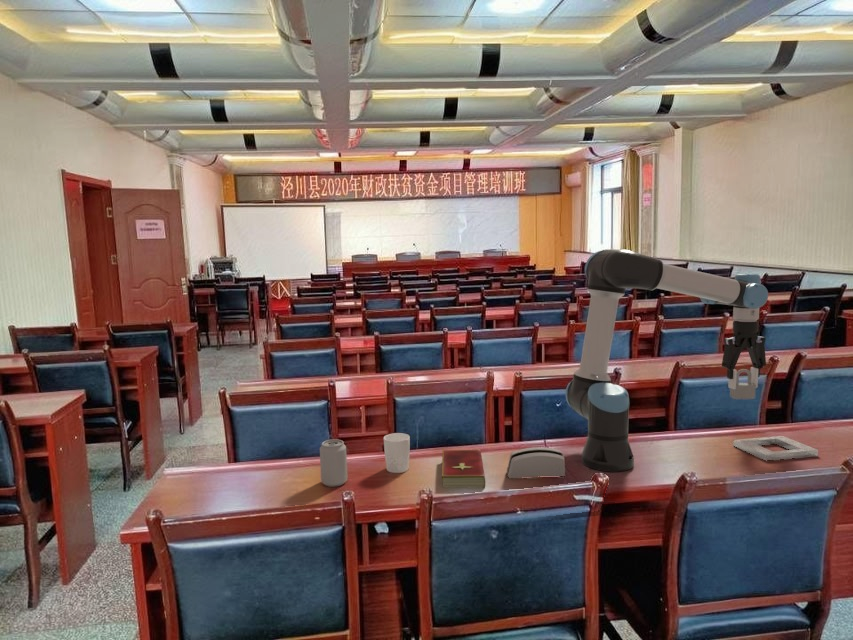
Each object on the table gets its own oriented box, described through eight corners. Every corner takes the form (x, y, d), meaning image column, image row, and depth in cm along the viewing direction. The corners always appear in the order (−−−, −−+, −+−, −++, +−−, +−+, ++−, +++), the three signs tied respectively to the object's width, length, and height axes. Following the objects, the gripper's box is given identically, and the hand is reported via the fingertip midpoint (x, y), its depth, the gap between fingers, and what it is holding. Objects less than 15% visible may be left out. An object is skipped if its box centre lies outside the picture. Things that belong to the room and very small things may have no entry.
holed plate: (765, 461, 172) (766, 454, 172) (733, 446, 186) (733, 440, 186) (817, 456, 175) (818, 449, 175) (782, 441, 189) (782, 435, 189)
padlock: (734, 399, 192) (736, 370, 191) (728, 396, 196) (730, 368, 195) (756, 399, 192) (757, 370, 190) (749, 396, 196) (751, 367, 194)
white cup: (387, 475, 169) (386, 442, 167) (382, 466, 176) (381, 434, 175) (413, 472, 171) (412, 439, 169) (407, 463, 178) (406, 431, 177)
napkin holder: (561, 470, 169) (564, 443, 165) (565, 481, 165) (569, 454, 160) (505, 472, 169) (506, 445, 164) (507, 483, 165) (509, 456, 160)
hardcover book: (481, 461, 179) (481, 448, 178) (485, 489, 158) (485, 474, 158) (442, 462, 179) (442, 449, 179) (442, 489, 159) (441, 475, 158)
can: (348, 477, 168) (347, 437, 167) (346, 487, 161) (344, 446, 159) (323, 478, 168) (321, 438, 166) (319, 488, 160) (317, 447, 159)
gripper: (726, 322, 185) (723, 392, 188) (781, 320, 189) (778, 388, 191) (710, 320, 192) (708, 386, 195) (764, 317, 196) (761, 383, 199)
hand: (742, 387), depth 193 cm, fingers closed on padlock, 7 cm apart
